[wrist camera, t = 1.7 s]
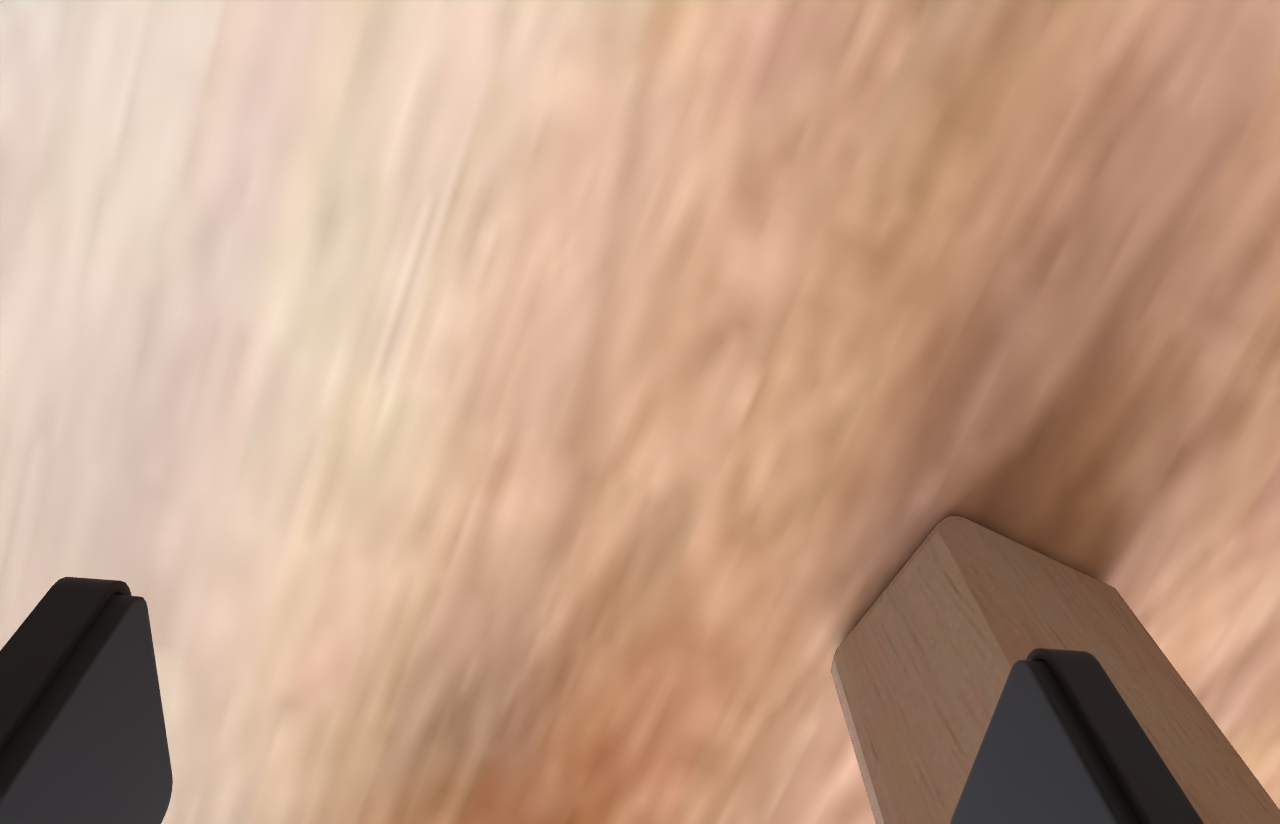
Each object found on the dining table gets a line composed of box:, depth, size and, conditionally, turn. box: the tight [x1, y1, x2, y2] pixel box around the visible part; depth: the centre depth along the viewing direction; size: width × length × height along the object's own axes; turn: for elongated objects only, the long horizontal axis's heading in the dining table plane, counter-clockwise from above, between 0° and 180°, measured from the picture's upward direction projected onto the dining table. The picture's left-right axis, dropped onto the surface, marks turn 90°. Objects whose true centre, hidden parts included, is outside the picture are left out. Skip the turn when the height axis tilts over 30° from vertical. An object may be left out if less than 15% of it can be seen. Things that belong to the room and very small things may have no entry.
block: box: [831, 516, 1280, 824], centre depth 36 cm, size 10×10×20 cm
